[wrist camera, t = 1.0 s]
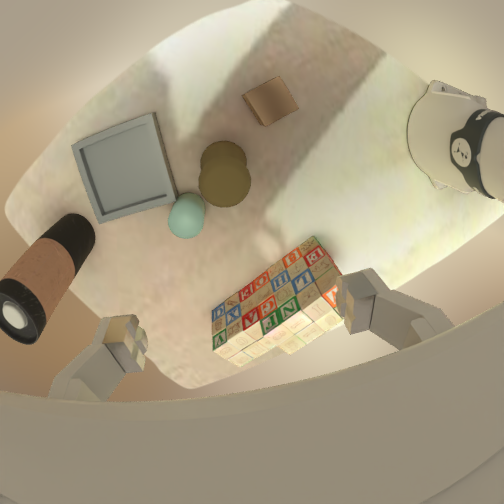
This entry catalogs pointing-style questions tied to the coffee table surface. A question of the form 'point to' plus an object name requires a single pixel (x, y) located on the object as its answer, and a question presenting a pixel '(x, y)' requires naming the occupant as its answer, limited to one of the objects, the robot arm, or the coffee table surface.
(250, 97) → the walnut cube
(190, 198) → the teal cylinder
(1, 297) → the travel mug
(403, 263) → the coffee table surface
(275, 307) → the stack of blocks
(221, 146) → the olive brown pawn
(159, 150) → the tray
